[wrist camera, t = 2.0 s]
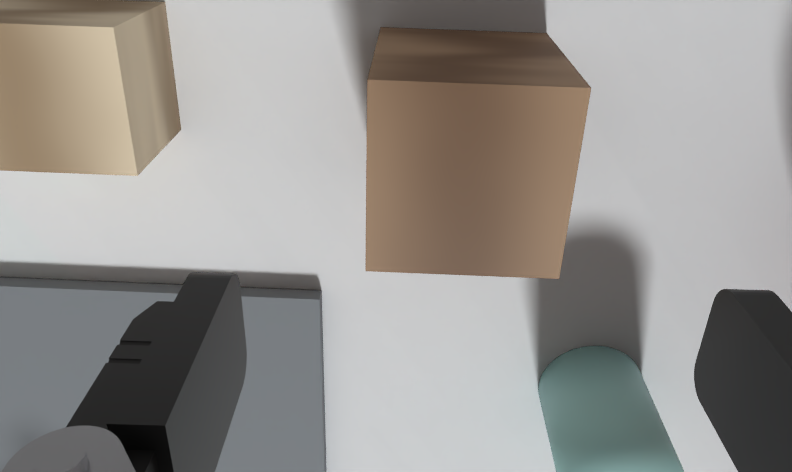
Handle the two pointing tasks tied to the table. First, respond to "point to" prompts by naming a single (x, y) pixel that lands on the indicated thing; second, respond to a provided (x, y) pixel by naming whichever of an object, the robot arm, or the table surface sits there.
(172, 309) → the robot arm
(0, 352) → the mat
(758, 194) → the table surface
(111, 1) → the beech block
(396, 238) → the walnut block
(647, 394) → the teal cylinder
